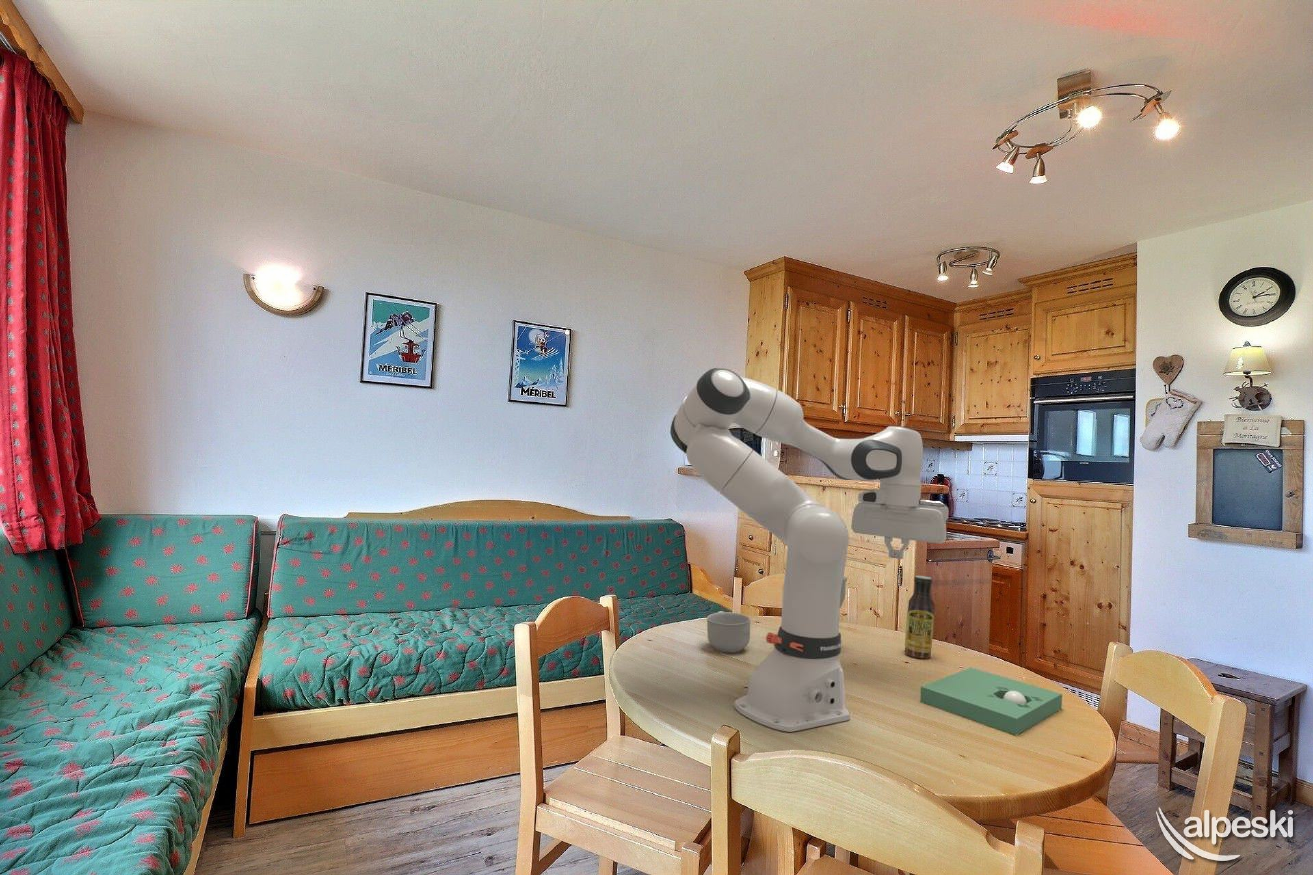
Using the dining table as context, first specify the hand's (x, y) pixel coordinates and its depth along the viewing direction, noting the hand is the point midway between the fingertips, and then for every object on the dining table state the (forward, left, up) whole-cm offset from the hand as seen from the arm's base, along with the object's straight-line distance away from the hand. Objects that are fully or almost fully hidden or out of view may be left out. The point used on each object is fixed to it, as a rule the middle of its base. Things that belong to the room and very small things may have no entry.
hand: (895, 558), depth 141 cm
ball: (+1, -26, -24) cm, 35 cm away
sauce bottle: (+20, +4, -27) cm, 33 cm away
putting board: (+2, -21, -26) cm, 34 cm away
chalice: (+6, +20, -27) cm, 34 cm away
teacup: (-18, +34, -27) cm, 47 cm away
